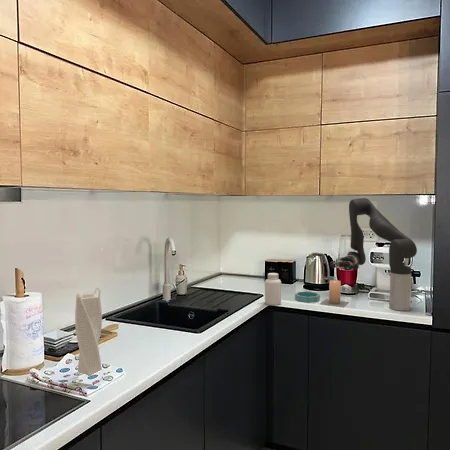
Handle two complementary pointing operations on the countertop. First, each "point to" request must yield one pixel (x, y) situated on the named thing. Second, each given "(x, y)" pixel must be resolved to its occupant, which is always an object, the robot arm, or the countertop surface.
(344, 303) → the mat
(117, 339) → the countertop surface
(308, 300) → the bowl
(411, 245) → the robot arm
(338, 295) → the canister
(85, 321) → the skyscraper
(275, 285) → the pill bottle
